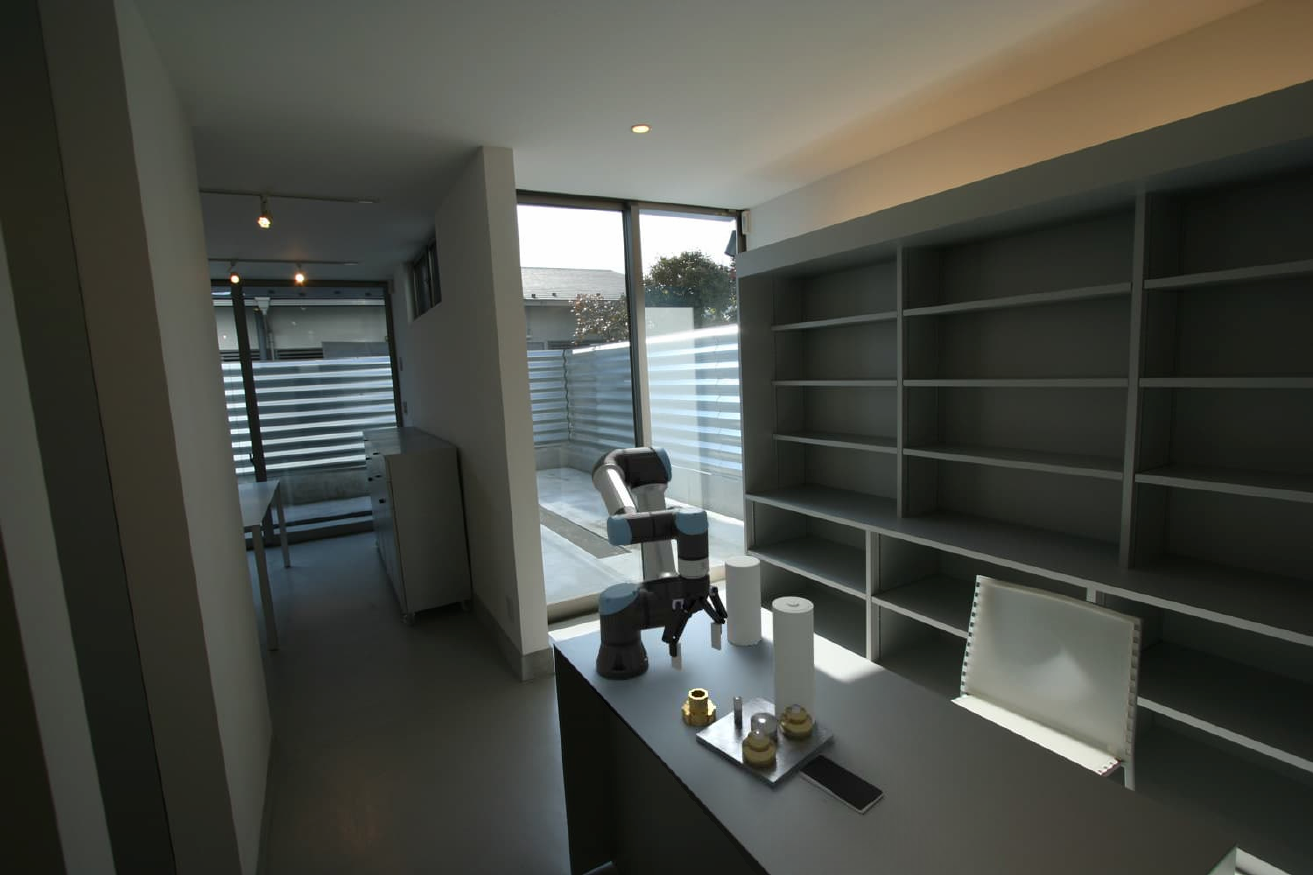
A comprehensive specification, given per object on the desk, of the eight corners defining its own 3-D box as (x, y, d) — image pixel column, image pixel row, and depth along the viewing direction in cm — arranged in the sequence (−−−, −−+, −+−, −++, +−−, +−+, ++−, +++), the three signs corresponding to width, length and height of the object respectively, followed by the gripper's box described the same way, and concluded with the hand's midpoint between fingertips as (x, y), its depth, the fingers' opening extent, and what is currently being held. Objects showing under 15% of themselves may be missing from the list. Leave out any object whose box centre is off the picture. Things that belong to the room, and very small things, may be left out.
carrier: (696, 740, 137) (695, 712, 136) (757, 701, 151) (756, 675, 150) (773, 788, 120) (772, 756, 119) (833, 740, 135) (833, 711, 134)
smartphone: (861, 811, 113) (797, 770, 124) (861, 817, 113) (797, 775, 124) (884, 791, 118) (820, 753, 129) (884, 796, 118) (820, 758, 129)
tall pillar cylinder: (753, 648, 179) (751, 568, 176) (721, 641, 185) (718, 563, 181) (766, 634, 188) (765, 558, 184) (736, 627, 193) (734, 553, 190)
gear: (675, 716, 146) (674, 693, 145) (698, 703, 152) (698, 681, 151) (699, 731, 140) (698, 707, 139) (722, 716, 145) (722, 693, 145)
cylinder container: (816, 735, 137) (814, 611, 134) (774, 731, 139) (772, 609, 136) (813, 711, 147) (812, 595, 143) (774, 708, 148) (772, 593, 145)
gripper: (665, 592, 130) (669, 683, 133) (740, 563, 147) (742, 645, 149) (643, 583, 136) (648, 671, 138) (717, 557, 152) (720, 636, 155)
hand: (697, 658), depth 144 cm, fingers open, 13 cm apart
